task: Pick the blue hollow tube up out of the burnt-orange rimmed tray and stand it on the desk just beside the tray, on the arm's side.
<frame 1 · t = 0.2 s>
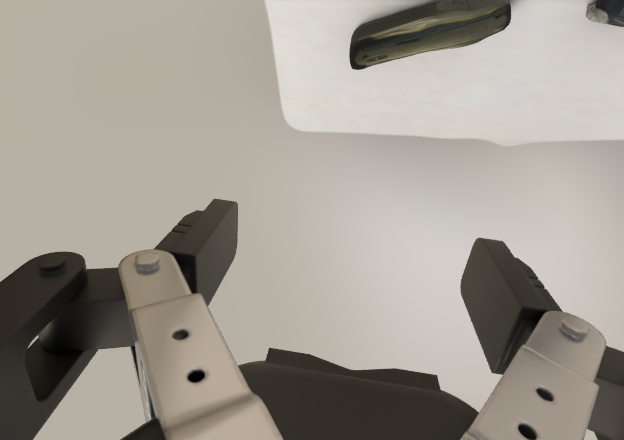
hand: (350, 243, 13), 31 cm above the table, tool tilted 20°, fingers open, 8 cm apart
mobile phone: (429, 17, 35), on the table
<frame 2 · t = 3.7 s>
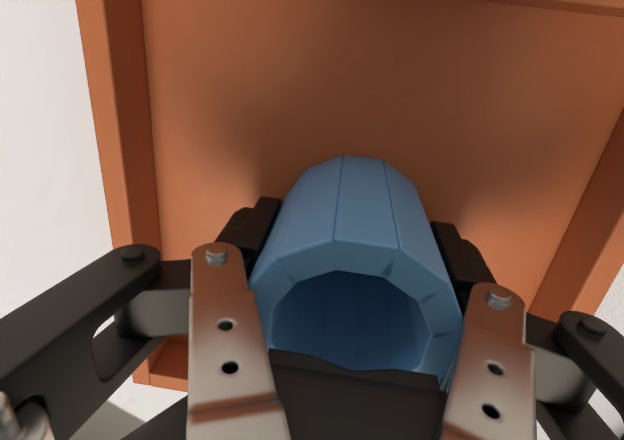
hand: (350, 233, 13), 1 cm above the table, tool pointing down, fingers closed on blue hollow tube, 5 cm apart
tray: (351, 218, 15), on the table
blue hollow tube: (351, 223, 14), resting on tray, touching gripper
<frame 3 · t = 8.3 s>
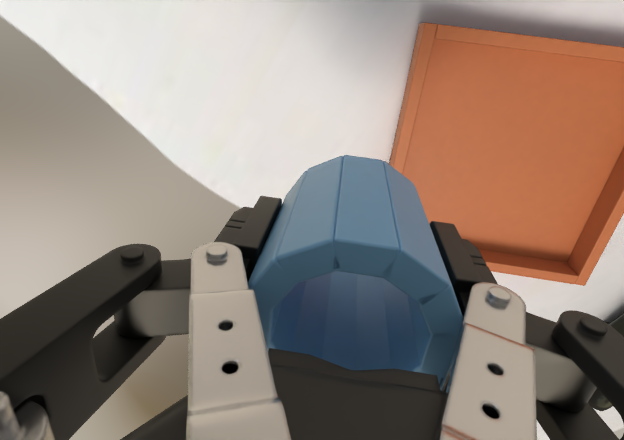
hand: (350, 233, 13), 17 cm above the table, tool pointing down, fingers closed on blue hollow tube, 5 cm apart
tray: (503, 160, 29), on the table
blue hollow tube: (351, 223, 14), point 16 cm above the table, touching gripper
when the fingers open (1 cm above the table, at t = 12.7 s): blue hollow tube stays where it is, on the table.
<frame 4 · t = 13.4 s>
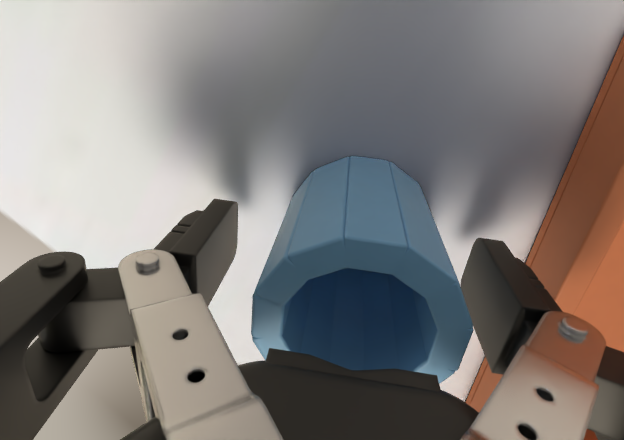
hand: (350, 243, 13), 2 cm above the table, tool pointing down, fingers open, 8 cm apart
blue hollow tube: (357, 222, 14), on the table
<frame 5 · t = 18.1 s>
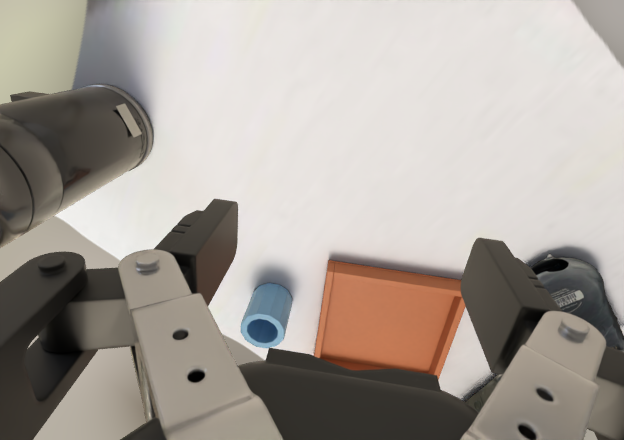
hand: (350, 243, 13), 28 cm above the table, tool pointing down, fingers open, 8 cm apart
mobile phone: (470, 401, 55), on the table
tray: (383, 322, 50), on the table
blue hollow tube: (272, 299, 50), on the table
electronic device: (560, 302, 46), on the table
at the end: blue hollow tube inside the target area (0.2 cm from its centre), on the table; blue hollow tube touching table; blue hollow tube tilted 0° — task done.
